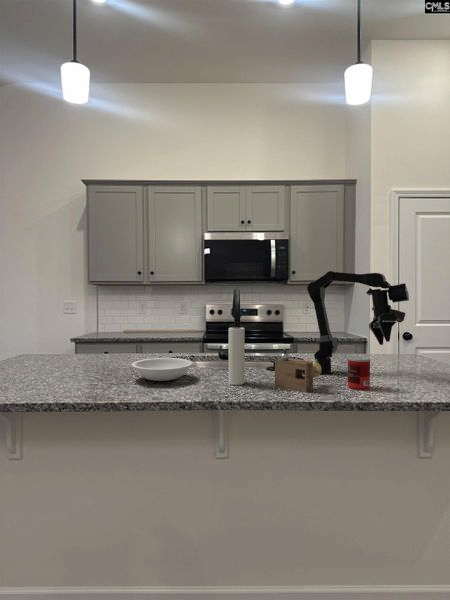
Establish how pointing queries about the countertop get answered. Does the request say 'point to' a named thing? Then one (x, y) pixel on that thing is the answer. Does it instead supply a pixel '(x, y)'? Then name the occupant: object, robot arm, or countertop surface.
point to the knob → (315, 369)
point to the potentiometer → (284, 356)
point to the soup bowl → (162, 368)
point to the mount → (294, 375)
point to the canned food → (358, 373)
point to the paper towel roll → (236, 355)
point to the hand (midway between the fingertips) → (384, 343)
